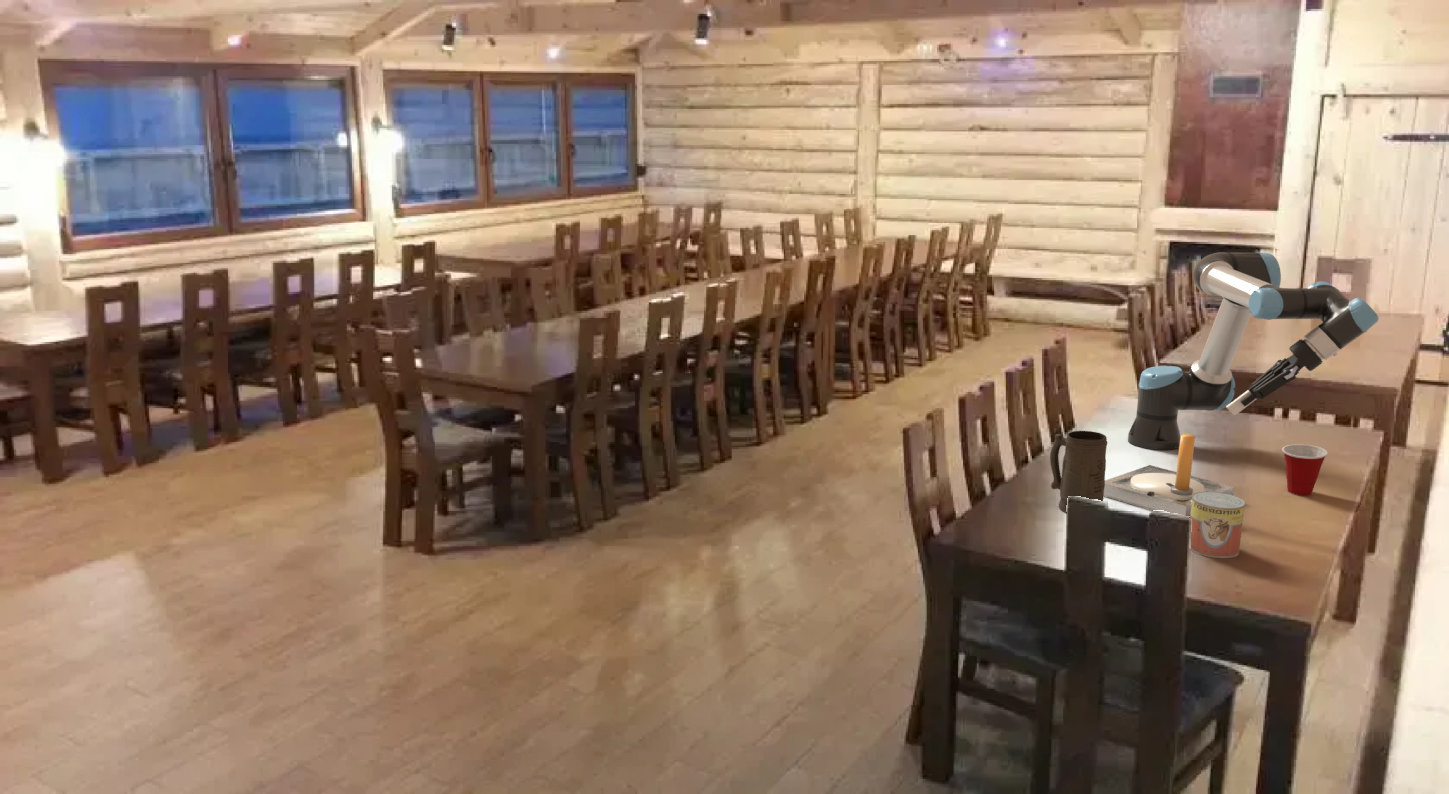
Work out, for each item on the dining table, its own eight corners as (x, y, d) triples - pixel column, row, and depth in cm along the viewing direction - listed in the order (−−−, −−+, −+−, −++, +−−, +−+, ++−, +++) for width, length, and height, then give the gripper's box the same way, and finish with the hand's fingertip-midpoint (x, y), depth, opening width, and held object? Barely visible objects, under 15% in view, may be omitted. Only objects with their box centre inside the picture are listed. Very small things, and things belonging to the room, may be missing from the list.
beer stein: (1112, 509, 287) (1115, 432, 283) (1093, 520, 280) (1095, 441, 276) (1056, 499, 298) (1058, 425, 294) (1036, 509, 290) (1037, 433, 286)
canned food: (1186, 553, 259) (1192, 504, 256) (1186, 537, 269) (1191, 489, 266) (1240, 561, 255) (1247, 510, 252) (1237, 543, 265) (1244, 495, 262)
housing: (1099, 494, 298) (1100, 480, 297) (1148, 477, 313) (1149, 462, 312) (1184, 519, 280) (1186, 504, 279) (1232, 499, 295) (1234, 484, 294)
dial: (1117, 479, 304) (1123, 420, 300) (1180, 476, 306) (1186, 418, 302) (1153, 502, 286) (1160, 439, 282) (1219, 499, 288) (1226, 437, 284)
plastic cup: (1267, 488, 305) (1272, 445, 302) (1296, 483, 309) (1302, 441, 306) (1301, 501, 295) (1307, 457, 292) (1331, 496, 299) (1337, 452, 296)
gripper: (1329, 366, 267) (1244, 429, 275) (1318, 355, 279) (1236, 415, 287) (1307, 343, 267) (1223, 406, 275) (1297, 333, 279) (1216, 393, 288)
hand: (1230, 411), depth 281 cm, fingers closed
